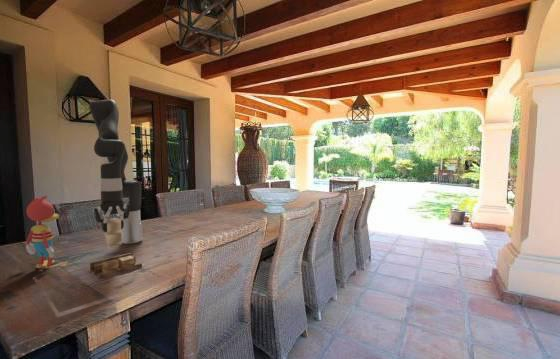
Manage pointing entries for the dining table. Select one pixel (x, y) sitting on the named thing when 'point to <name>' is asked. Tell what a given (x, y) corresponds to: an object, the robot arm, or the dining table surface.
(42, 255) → the toy
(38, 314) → the dining table surface
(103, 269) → the offcut
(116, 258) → the rack
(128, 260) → the offcut
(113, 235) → the long beige rectangular prism
